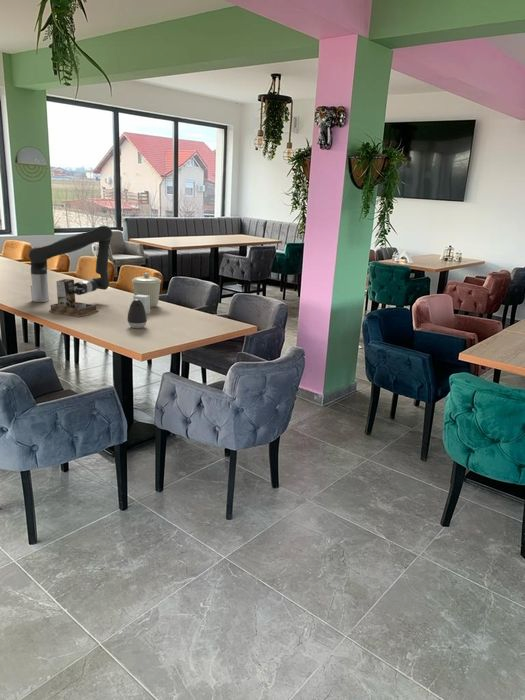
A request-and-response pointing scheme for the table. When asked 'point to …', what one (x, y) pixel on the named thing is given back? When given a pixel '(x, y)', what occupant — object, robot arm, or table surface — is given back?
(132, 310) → the black and white dome
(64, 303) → the coffee box
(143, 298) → the small box
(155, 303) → the canister
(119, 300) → the table surface
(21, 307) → the table surface
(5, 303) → the table surface
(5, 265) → the table surface
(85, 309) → the caddy
